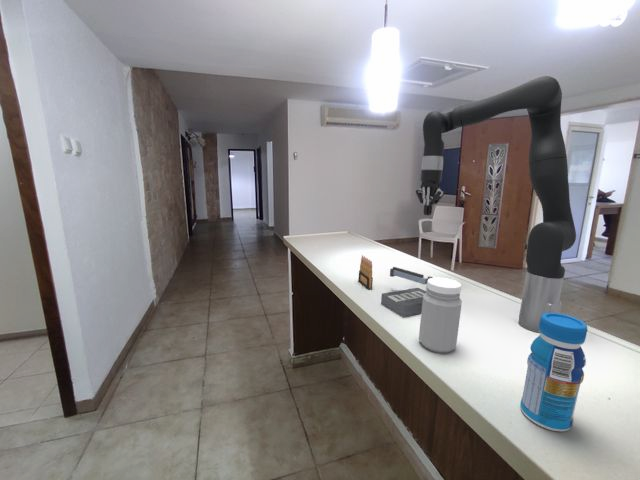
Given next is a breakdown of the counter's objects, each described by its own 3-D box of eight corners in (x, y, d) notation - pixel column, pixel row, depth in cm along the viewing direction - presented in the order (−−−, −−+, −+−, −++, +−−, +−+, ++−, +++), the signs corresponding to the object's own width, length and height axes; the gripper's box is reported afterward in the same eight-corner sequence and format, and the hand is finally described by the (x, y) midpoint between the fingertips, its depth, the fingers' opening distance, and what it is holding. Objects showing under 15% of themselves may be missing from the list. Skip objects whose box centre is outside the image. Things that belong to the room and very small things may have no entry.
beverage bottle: (509, 407, 62) (525, 313, 58) (535, 396, 66) (552, 307, 62) (555, 440, 55) (577, 334, 51) (582, 425, 58) (605, 325, 54)
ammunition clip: (372, 289, 126) (374, 261, 124) (367, 290, 126) (369, 261, 124) (362, 281, 136) (363, 254, 134) (358, 281, 136) (359, 254, 134)
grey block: (442, 309, 109) (445, 282, 107) (403, 317, 101) (406, 288, 99) (418, 297, 120) (420, 272, 118) (380, 304, 112) (382, 277, 110)
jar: (438, 334, 91) (445, 275, 88) (464, 351, 82) (473, 286, 79) (410, 338, 88) (416, 277, 84) (434, 357, 79) (442, 290, 75)
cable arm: (423, 286, 113) (424, 276, 112) (389, 276, 124) (390, 267, 123) (427, 285, 114) (428, 275, 114) (393, 275, 126) (394, 266, 125)
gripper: (453, 169, 113) (447, 217, 116) (426, 169, 124) (422, 213, 128) (438, 168, 109) (433, 217, 113) (411, 168, 121) (407, 213, 124)
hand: (427, 215), depth 120 cm, fingers closed
